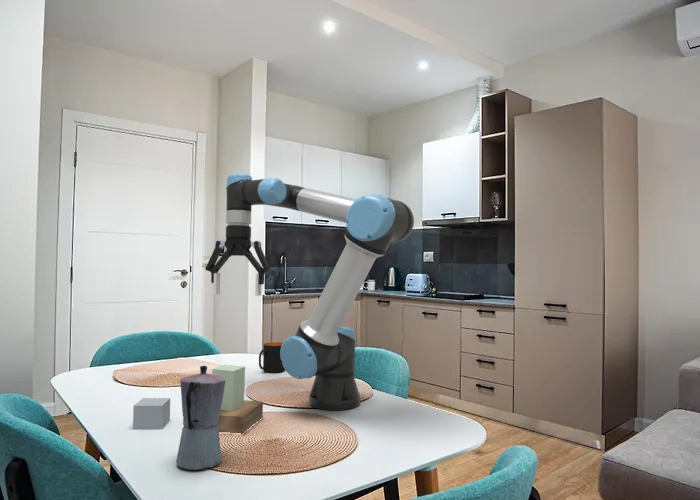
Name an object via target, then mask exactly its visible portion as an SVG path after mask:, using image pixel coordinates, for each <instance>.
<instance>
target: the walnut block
mask: <svg viewBox="0 0 700 500" xmlns="http://www.w3.org/2000/svg"><path fill="white" fill-rule="evenodd" d="M263 413H264V401H262V400H261V401H260V400H247V399H244V405H243V406H241V407H239V408H238V409H236V410H234V411H225V410H221V412H220V415H219V421H218V424H217V425H218V427H219V432H230V433H241V434H243V433H244V432H245V431H246V430H247V429H249V428H250V427H251V426H252V425H253V424H255V423H256V422H257V421H259V420H260V419H261V418H262V417H264V414H263ZM260 421H261V420H260ZM260 421H259V422H260Z"/></svg>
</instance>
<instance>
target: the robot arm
mask: <svg viewBox="0 0 700 500" xmlns="http://www.w3.org/2000/svg"><path fill="white" fill-rule="evenodd" d="M225 189H226V212H225V213H226V214H225V215H226V217H225V224H226V226H225V241H222V240H216V241H215V247H214V249H213V251H212V254H211V256H210V257H209V260H208V262H207V264H206V266H205V268H204V270H205V271H208V272H210V273H211V274H210V275H211V276H210V277H211V279H210V282H211V284H213V293H212V295H215V296H216V295H220V294H221V293H220V292H221V273H220V272H219V271H220V270H221V268H222V267H223V266H224V265H225V263H227V261H228V260H229V258H231V257H232V256H237V257H238V256H240V257H241V256H242V257H245V258H246V259H247V260H248V261H249V263H250V264H251V265H252V266H253V267H254V269H255V271H257V273H256V274H255V286H254V287H255V290H254V295H255V297H259V296H262V285H264V284H265V274H266V273H268V272H270V271H271V267H270V265H269V262H268V261H267V257H266V256H265V254H264V251H263V249H262V243H261V241H260V240H255V241H252V240H251V238H252V227H251V226H250V225H251V224H252V207H253V206H261V205H263V206H270V207H278V208H284V209H290V210H293V211H297V212H302V213H306V214H310V215H314V216H317V217H322V218H326V219H329V220H333V221H336V222H337V221H338V222H341V223H345V224H346V231H345V233H344V239H345V241H346V244H345V246H344V249H343V250H342V252H341V253H340V254H341V255H340V256H339V258H338V260H337V262H336V264H335V266H334V269H333V270H332V273H331V275H330V277H329V278H328V280H327V283H326V284H325V286H324V289H323V290H322V292H321V294H320V296H319V298H318V301H317V303H316V305H315V306H314V309H313V310H312V312H311V314H310V317H309V318H308V319H305V320H302V321H301V323H300V324H299V326H298V328H297V330H296V333H295V334H294V335H291V336H289V337H288V338H285V340H284V341H283V342H282V343H283V344H282V346H281V350H280V358H281V360H282V365H283V367H284V369H285V372H286V373H288V375H289V376H291V377H292V378H295V379H297V380H304V379H311V378H313V377H314V381H313V383H312V387H311V390H310V392H309V396H308V404H309V406H310V407H312V408H315V409H320V410H325V411H345V410H351V409H355V408H358V407H359V405H360V404H361V396H360V392H359V390H358V389H359V388H358V385H357V383H356V379H355V367H356V366H355V363H356V362H355V359H356V358H355V357H356V356H355V355H356V336H355V334H356V333H355V330H354V328H352V327H347V326H342V325H343V323H344V321H345V319H346V317H347V315H348V314H349V311H350V309H351V308H352V305H353V304H354V302H355V300H356V298H357V296H358V294H359V292H360V290H361V289H362V286H363V284H364V282H365V280H366V278H367V277H368V274H369V273H370V270H371V269H372V267H373V265H374V263H375V261H376V259H377V258H380V257H384V256H385V255H386V252H387V250H388V248H389V247H390V245H391V244H392V243H399V242H401V241H404V240H405V239H407V237H409V235H410V234H411V233H412V231H413V229H414V225H415V224H414V223H415V218H414V213H413V212H412V209H411V208H410V207H409V205H407V204H406V203H405V202H403V201H401V200H397V199H393V198H390V197H385V196H383V195H380V194H365V195H363V196H360V197H358V198H353V197H348V196H344V195H338V194H335V193H330V192H325V191H322V190H316V189H312V188H307V187H304V186H299V185H293V184H289V183H285V182H283V181H282V179H280V178H277V177H274V178H272V177H267V178H261V179H260V178H259V179H253V178H252V176H251V175H250V174H247V173H230V174H229V175H228V176H227V179H226V188H225ZM224 248H225V249H226V250H225V251H224V252H223V253H222V251H223V249H224ZM251 248H253V249H254V252H255V254H256V256H257V258H258V260H259V261H258V260H257V259H256V257H255V256H254V254H253V253H252V252H251V250H250V249H251ZM221 253H222V255H221V256H220V254H221ZM219 257H220V258H219Z"/></svg>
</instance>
